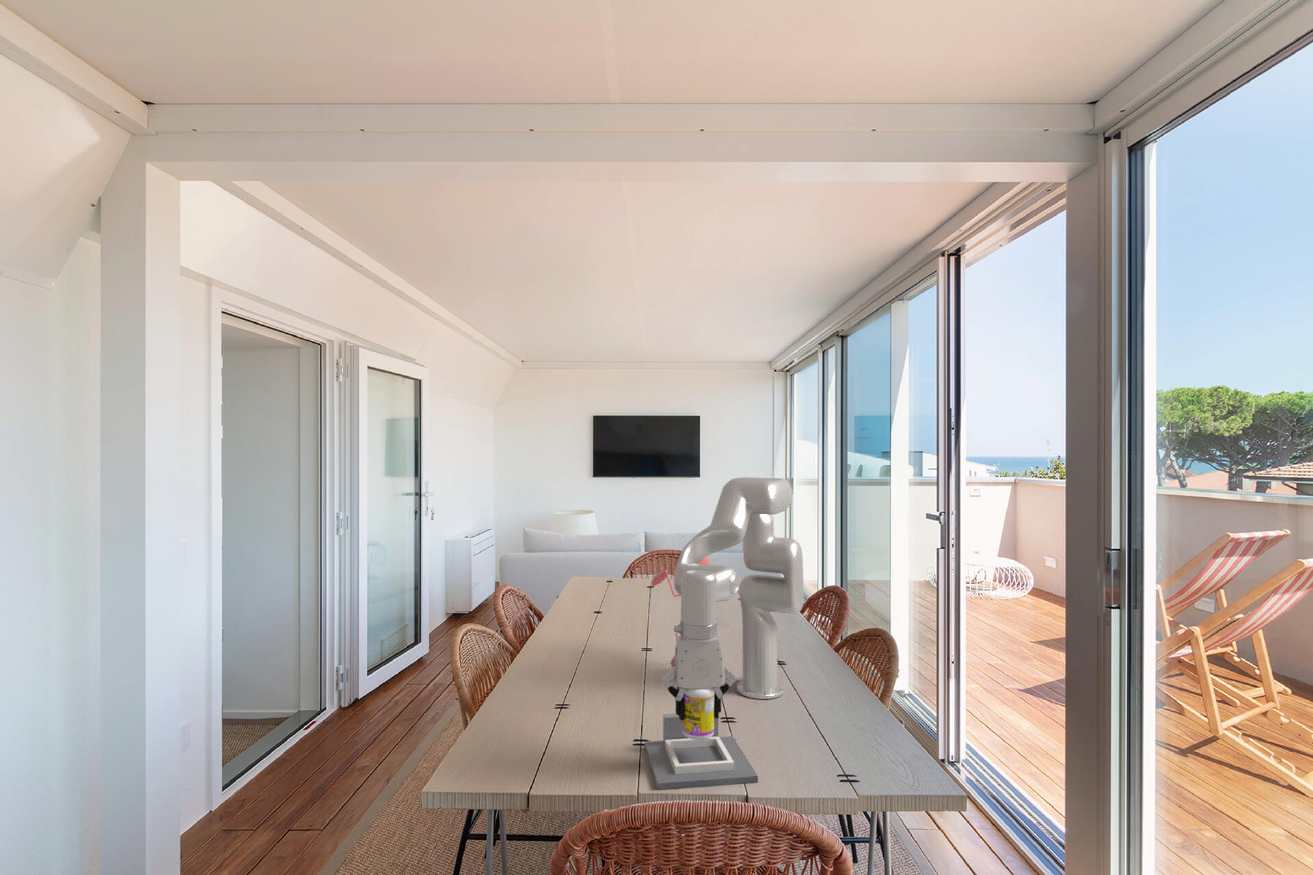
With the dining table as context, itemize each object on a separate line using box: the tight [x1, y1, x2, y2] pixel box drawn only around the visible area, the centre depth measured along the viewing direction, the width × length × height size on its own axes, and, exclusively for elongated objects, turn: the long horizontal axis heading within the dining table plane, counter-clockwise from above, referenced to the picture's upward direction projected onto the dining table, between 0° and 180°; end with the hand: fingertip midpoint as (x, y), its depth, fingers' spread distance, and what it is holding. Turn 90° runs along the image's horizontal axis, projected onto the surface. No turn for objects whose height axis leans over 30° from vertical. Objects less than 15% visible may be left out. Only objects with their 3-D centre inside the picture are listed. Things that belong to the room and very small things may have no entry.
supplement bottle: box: [682, 688, 714, 740], centre depth 131 cm, size 7×7×13 cm
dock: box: [644, 712, 759, 791], centre depth 131 cm, size 18×20×7 cm
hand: (698, 716), depth 131 cm, fingers closed on supplement bottle, 6 cm apart
